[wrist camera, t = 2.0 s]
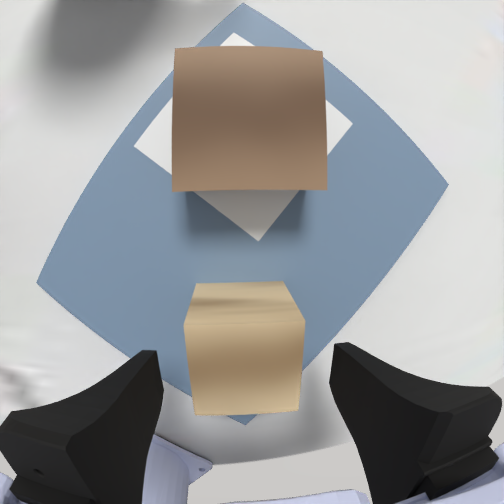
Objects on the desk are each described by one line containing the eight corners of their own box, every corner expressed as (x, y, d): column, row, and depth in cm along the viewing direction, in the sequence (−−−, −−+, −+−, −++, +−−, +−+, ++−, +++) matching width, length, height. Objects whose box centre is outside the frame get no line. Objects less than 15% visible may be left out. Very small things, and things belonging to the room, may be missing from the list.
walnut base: (305, 189, 15) (327, 190, 12) (184, 190, 15) (172, 192, 11) (303, 76, 14) (322, 51, 11) (185, 75, 14) (174, 48, 10)
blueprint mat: (245, 421, 19) (245, 425, 18) (39, 280, 16) (36, 282, 15) (445, 184, 16) (448, 184, 16) (242, 6, 13) (243, 2, 13)
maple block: (280, 355, 17) (298, 410, 12) (202, 358, 17) (194, 415, 12) (283, 281, 16) (305, 320, 11) (196, 283, 16) (183, 325, 11)
